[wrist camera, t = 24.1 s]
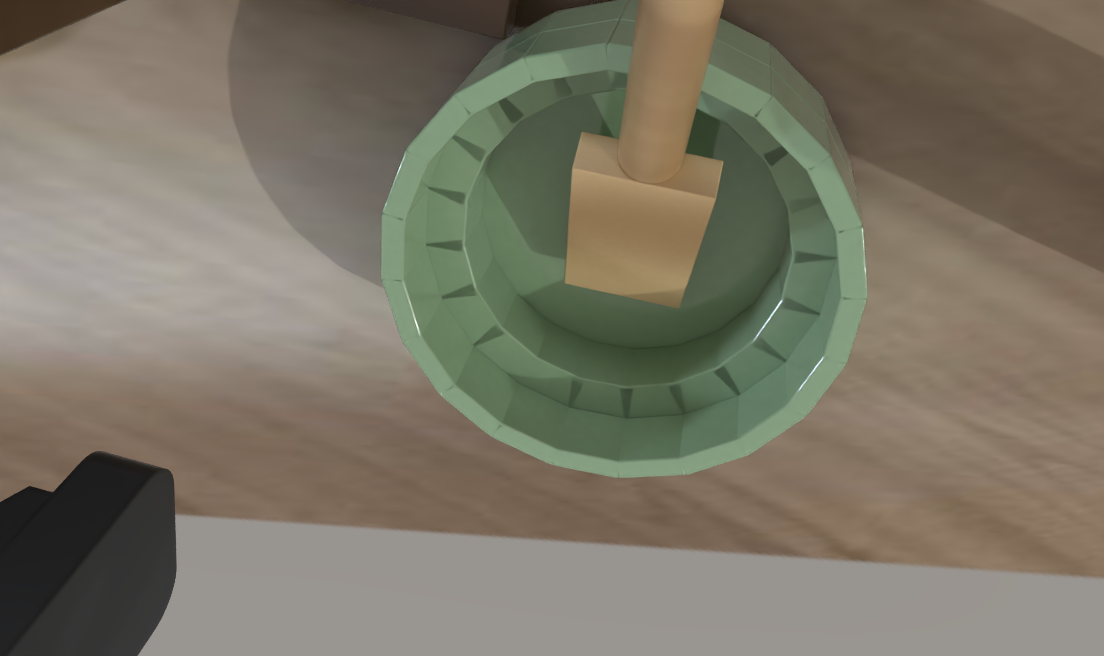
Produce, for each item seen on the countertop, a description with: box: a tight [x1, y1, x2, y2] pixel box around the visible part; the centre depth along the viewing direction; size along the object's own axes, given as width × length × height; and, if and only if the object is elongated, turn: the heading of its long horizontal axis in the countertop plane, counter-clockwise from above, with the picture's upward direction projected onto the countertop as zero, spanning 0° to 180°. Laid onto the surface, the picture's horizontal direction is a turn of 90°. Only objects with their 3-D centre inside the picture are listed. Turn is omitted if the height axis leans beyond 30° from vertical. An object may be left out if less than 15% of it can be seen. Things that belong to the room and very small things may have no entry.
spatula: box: [564, 0, 724, 308], centre depth 27 cm, size 22×4×2 cm
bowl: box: [381, 0, 868, 478], centre depth 34 cm, size 16×16×6 cm
